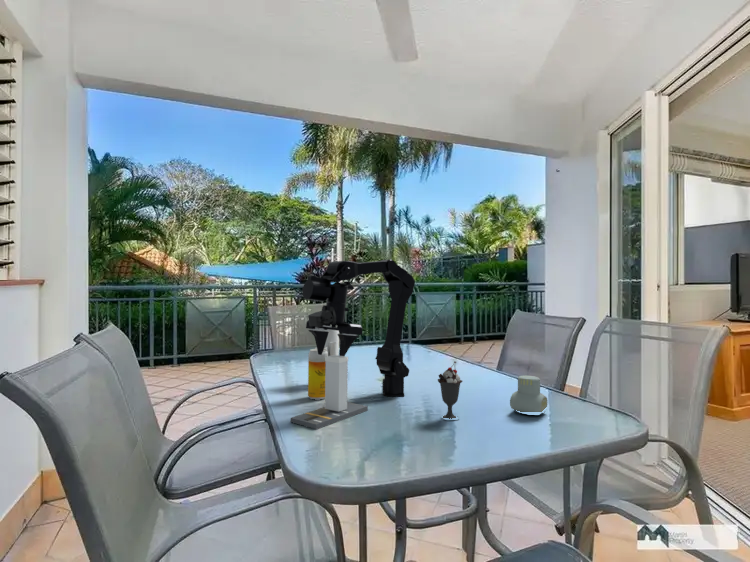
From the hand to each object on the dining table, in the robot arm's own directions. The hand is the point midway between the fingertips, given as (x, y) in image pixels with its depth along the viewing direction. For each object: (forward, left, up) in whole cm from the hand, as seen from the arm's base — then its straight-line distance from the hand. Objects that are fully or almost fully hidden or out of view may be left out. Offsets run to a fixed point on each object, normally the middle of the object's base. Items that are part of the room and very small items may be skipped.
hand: (330, 356), depth 128 cm
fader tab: (-3, +8, -13) cm, 15 cm away
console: (-1, +9, -14) cm, 17 cm away
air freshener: (-56, +4, -15) cm, 58 cm away
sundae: (-33, +10, -15) cm, 38 cm away
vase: (+4, -28, -15) cm, 32 cm away
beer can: (+5, -10, -15) cm, 18 cm away
